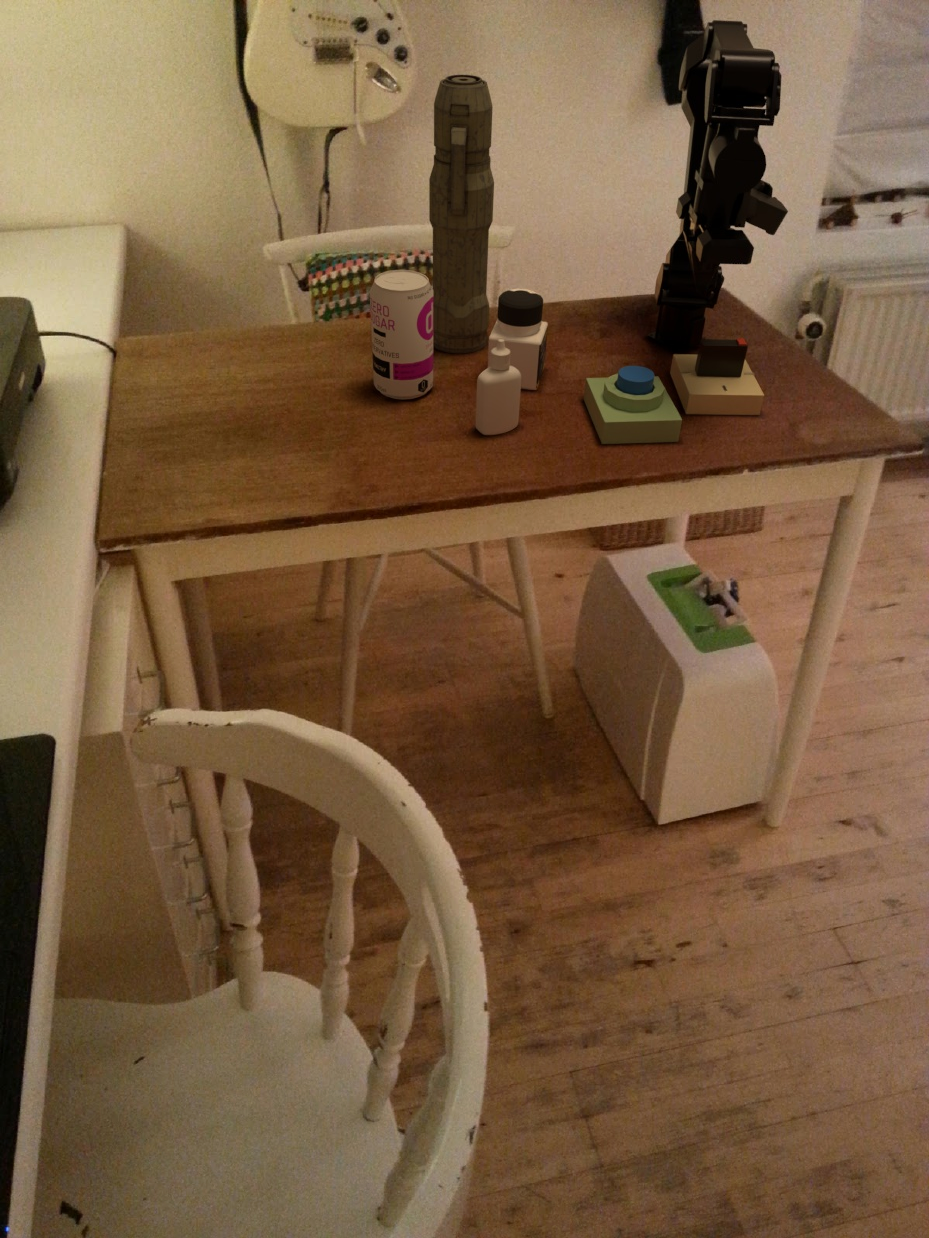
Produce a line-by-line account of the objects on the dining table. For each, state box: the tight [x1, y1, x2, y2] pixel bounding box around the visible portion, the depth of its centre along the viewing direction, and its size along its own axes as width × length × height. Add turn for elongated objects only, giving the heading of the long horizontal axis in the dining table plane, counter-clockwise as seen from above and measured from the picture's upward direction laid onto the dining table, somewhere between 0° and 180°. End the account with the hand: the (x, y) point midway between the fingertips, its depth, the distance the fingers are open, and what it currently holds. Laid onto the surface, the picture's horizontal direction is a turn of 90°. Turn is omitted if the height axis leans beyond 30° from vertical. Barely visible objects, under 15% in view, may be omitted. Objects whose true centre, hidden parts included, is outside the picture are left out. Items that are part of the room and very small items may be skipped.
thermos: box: [428, 74, 495, 354], centre depth 132 cm, size 9×12×35 cm
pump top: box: [616, 365, 655, 395], centre depth 122 cm, size 5×5×2 cm
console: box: [669, 353, 765, 416], centre depth 131 cm, size 12×10×3 cm
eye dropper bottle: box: [474, 339, 522, 436], centre depth 120 cm, size 4×6×12 cm
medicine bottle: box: [487, 288, 549, 391], centre depth 131 cm, size 7×7×12 cm
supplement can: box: [369, 269, 434, 400], centre depth 126 cm, size 8×8×15 cm
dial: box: [695, 337, 749, 377], centre depth 129 cm, size 6×2×5 cm, turn 90°
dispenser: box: [583, 373, 683, 445], centre depth 124 cm, size 12×10×5 cm
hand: (700, 292), depth 126 cm, fingers closed
